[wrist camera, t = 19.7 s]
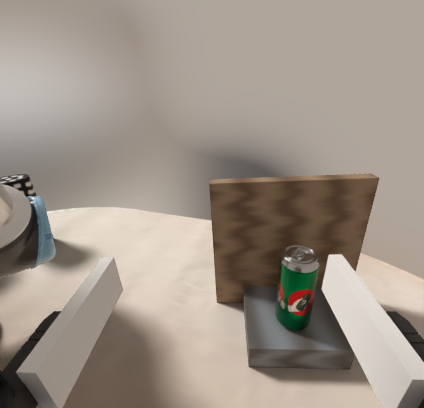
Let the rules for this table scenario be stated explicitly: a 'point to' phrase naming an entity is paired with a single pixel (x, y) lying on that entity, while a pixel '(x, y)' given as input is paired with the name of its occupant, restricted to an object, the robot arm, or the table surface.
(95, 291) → the robot arm
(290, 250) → the soda can
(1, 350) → the table surface
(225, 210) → the wall board
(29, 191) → the spotted tube
